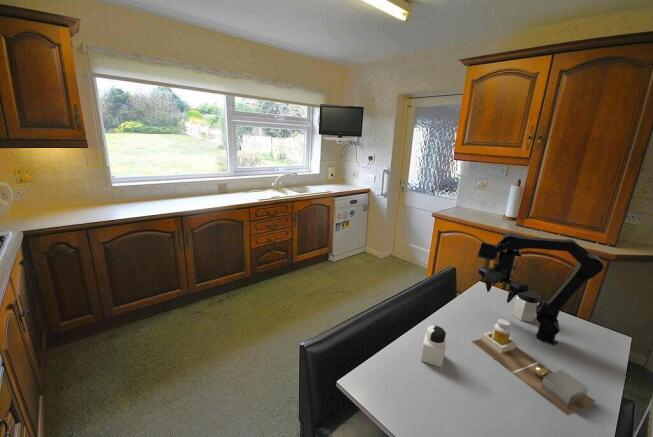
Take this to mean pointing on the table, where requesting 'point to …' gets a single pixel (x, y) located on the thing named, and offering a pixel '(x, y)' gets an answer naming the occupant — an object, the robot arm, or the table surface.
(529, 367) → the board
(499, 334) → the supplement bottle
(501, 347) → the socket
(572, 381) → the cover
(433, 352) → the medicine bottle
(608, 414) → the table surface
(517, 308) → the jar
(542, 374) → the gold knob
